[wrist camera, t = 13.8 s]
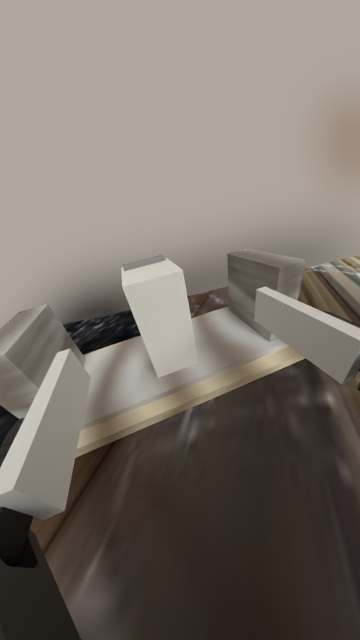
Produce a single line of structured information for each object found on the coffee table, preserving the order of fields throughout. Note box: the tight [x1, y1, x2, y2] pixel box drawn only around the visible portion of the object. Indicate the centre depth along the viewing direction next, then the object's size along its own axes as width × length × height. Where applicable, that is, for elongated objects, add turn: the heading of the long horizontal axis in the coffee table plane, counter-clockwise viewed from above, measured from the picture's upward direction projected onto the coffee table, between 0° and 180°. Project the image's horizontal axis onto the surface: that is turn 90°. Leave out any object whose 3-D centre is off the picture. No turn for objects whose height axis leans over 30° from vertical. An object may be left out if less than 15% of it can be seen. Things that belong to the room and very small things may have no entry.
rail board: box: [0, 248, 306, 458], centre depth 20 cm, size 29×14×11 cm, turn 108°
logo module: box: [121, 255, 199, 378], centre depth 19 cm, size 5×7×11 cm
